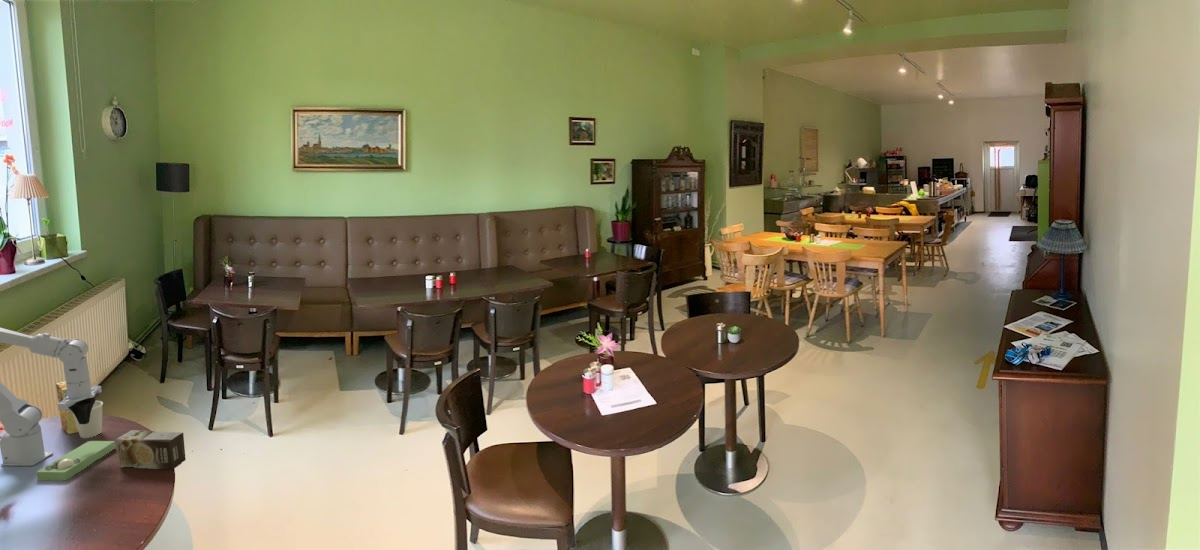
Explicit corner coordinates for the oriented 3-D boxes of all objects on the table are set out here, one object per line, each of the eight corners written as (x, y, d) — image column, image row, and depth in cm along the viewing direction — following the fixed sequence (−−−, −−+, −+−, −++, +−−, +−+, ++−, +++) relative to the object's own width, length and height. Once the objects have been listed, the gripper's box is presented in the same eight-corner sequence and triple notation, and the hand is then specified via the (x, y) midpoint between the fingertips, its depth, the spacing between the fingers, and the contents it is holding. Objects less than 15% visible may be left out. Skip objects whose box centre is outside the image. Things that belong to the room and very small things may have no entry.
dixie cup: (70, 441, 216) (65, 411, 214) (81, 430, 224) (77, 401, 222) (100, 438, 218) (96, 408, 216) (111, 427, 226) (107, 399, 224)
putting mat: (37, 480, 191) (36, 471, 191) (90, 448, 211) (88, 440, 210) (66, 480, 191) (64, 472, 191) (115, 448, 211) (114, 441, 210)
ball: (62, 454, 195) (56, 462, 196) (59, 466, 192) (53, 474, 193) (78, 457, 198) (72, 465, 199) (75, 469, 195) (69, 477, 196)
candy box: (61, 427, 226) (54, 383, 223) (76, 423, 229) (70, 379, 226) (68, 434, 220) (61, 389, 217) (84, 430, 224) (77, 386, 221)
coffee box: (115, 438, 197) (168, 440, 196) (131, 429, 203) (183, 431, 202) (119, 468, 199) (172, 470, 198) (135, 458, 205) (186, 460, 204)
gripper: (72, 389, 197) (78, 433, 199) (108, 372, 211) (114, 414, 214) (48, 389, 197) (54, 433, 199) (86, 372, 211) (92, 413, 214)
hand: (84, 423), depth 207 cm, fingers closed
